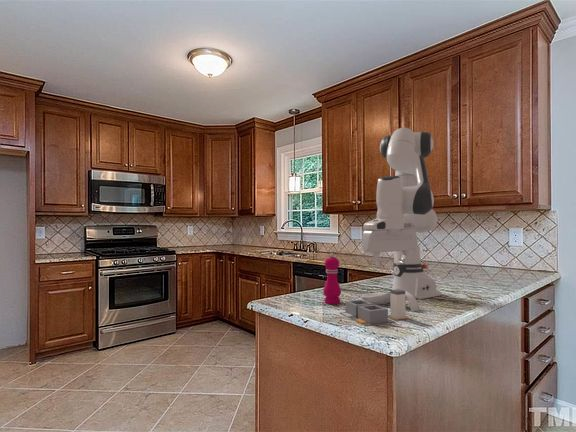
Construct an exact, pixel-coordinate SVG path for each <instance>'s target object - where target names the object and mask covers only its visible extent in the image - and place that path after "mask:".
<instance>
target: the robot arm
mask: <svg viewBox="0 0 576 432" xmlns="http://www.w3.org/2000/svg"><path fill="white" fill-rule="evenodd" d="M434 142H435V141H434V139H433V136H432V134H431V133H430V132H428V131H421V132H419V131H418V132H417V131H416V132H415V131H413V130H411V129H410V128H408V127H400V128H397V129H396V130H395V131H393V132H392V134H389V135H386V136H384V137H382V139H381V141H380V143H379V151H380V154H381V156H382V157H383V158H384V159H385V160H386V161H387V164H388V166H389V167H390V168H391V169H393V170H394V171H395V173H394V175H386V176H385V175H384V176H381V177H379V178H378V179H377V185H376V194H375V206H376V208H377V212H376V218H374V219H372V220H369V221H367V222H365V223H364V224H363V229H364V231H363V233H362V237H361V238H362V239H361V240H362V241H361V248H362V250H363V253H368V254H371V253H372V257H373V259H374V261H375V266H376V267H382V266H383V260H381V259H380V253H390V252H393V259H394V260H393V261H394V262H393V266H392V267H393V268H392V269H393V281H392V282H393V283H392V286H391V287H392V288H391V290H395V289H400V290H404V291H407V292H408V293H410V294H411V295H413V296H414V297H415V299H419V300H423V299H429V298H434V297H440V296H442V295H443V293H442V292H441V291H439V290H437V284H436V281H435V280H434V278H432V277H431V276H429V275H428V274H427V273H426V272H425V271H424V269H425V270H427V269H428V268H429V265H428V264H425V263H423V264H422V263H421V247H420V245H419V242H418V235H417V233H426V232H431V231H433V230H434V229H435V228H436V226H437V225H438V216H437V213H436V211H435V210H434V209H433V208H434V203H435V199H434V198H435V197H434V194H433V191H432V190H431V185H430V180H429V175H428V171H427V170H428V169H427V165H426V161H425V158H428V157H429V156H430V155H431V153H432V151H433V149H434V146H435V144H434Z"/></svg>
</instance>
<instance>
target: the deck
mask: <svg viewBox="0 0 576 432" xmlns="http://www.w3.org/2000/svg"><path fill="white" fill-rule="evenodd" d="M388 319H390V320H392V321H395V322H403V321H411V320H413V317H409V316H406V318H404V319H395V318H392V317H391V314H388Z"/></svg>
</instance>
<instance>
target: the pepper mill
mask: <svg viewBox="0 0 576 432" xmlns="http://www.w3.org/2000/svg"><path fill="white" fill-rule="evenodd" d="M334 254H335V253H332V252H331V253H330V254H329V257H327V258H326V259H325V260H324V266H325V268H326V269H325V273H326V282H325V284H324V287H323V292H322V293H323V295H324V303H325V304H329V305H337V304H338V305H339V304H340V303H341V298H340V296H341V293H342V289H341V286H340V284H339V282H338V273H339V270H338V268H339V267H340V260H339V259H338V258H337V257H334V256H335V255H334Z"/></svg>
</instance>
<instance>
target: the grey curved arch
mask: <svg viewBox="0 0 576 432" xmlns="http://www.w3.org/2000/svg"><path fill="white" fill-rule="evenodd" d="M403 291H404V290H403ZM361 299H362V300H364V301H367V302H370V303H373V305H387V304H389V303H390V292H370V293H364V294H362V295H361ZM405 299H406V300H407V301H408V303H409V306H410V312H417V311H420V304H419V302H418V300H417V298H415V297H414V296H413V295H411V294H410V293H408V292H407V291H405Z"/></svg>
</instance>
